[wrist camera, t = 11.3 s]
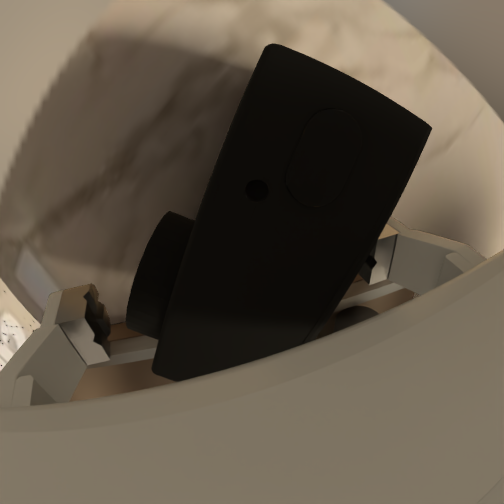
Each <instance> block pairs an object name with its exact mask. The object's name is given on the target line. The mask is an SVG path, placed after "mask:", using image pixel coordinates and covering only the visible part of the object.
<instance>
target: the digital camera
mask: <svg viewBox="0 0 504 504" xmlns="http://www.w3.org/2000/svg"><path fill="white" fill-rule="evenodd" d="M431 130H432V127H431V126H430V125H429V124H427V123H426V122H425V121H423V120H422V119H420V118H419V117H417V116H416V115H414V114H413V113H411V112H410V111H408V110H407V109H405V108H404V107H402V106H400V105H399V104H397V103H396V102H394V101H392V100H391V99H389V98H388V97H386V96H384V95H383V94H381V93H379V92H378V91H376V90H374V89H372V88H371V87H369V86H367V85H365V84H363V83H362V82H360V81H358V80H356V79H354V78H352V77H350V76H349V75H347V74H345V73H343V72H341V71H339V70H337V69H335V68H333V67H330V66H328V65H326V64H324V63H322V62H320V61H318V60H315V59H313V58H311V57H309V56H306V55H304V54H302V53H299V52H297V51H295V50H292V49H290V48H287V47H285V46H282V45H279V44H269V45H267V46H266V47H265V48H264V50H263V52H262V55H261V57H260V59H259V61H258V63H257V66H256V68H255V70H254V72H253V75H252V77H251V79H250V81H249V84H248V86H247V88H246V91H245V93H244V95H243V98H242V100H241V102H240V105H239V107H238V109H237V112H236V114H235V117H234V119H233V122H232V124H231V127H230V129H229V132H228V134H227V137H226V139H225V142H224V144H223V147H222V149H221V152H220V154H219V157H218V160H217V162H216V165H215V168H214V170H213V173H212V176H211V178H210V181H209V184H208V186H207V189H206V192H205V195H204V198H203V200H202V203H201V206H200V209H199V212H198V215H197V217H196V220H195V221H194V220H192V219H189V218H186V217H184V216H181V215H179V214H176V213H174V212H171V211H169V212H167V213H166V214H165V215H164V216H163V218H162V219H161V221H160V222H159V224H158V225H157V227H156V229H155V231H154V233H153V235H152V236H151V238H150V240H149V242H148V244H147V247H146V249H145V252H144V254H143V256H142V259H141V261H140V264H139V266H138V269H137V272H136V275H135V278H134V282H133V285H132V288H131V293H130V297H129V301H128V306H127V313H126V326H127V328H128V329H130V330H133V331H135V332H138V333H140V334H143V335H146V336H148V337H151V338H154V339H157V340H158V344H157V348H156V352H155V355H154V359H153V363H152V367H151V369H152V372H153V373H154V374H156V375H158V376H161V377H164V378H167V379H169V380H172V381H175V382H179V381H183V380H187V379H191V378H195V377H199V376H203V375H207V374H210V373H214V372H218V371H221V370H225V369H228V368H232V367H235V366H239V365H242V364H245V363H249V362H252V361H255V360H258V359H261V358H265V357H268V356H271V355H274V354H277V353H280V352H283V351H286V350H289V349H291V348H294V347H297V346H300V345H303V344H306V343H308V342H311V341H314V340H315V339H316V337H317V336H318V334H319V333H320V331H321V330H322V329H323V327H324V326H325V324H326V323H327V321H328V320H329V318H330V317H331V315H332V314H333V312H334V311H335V309H336V308H337V306H338V305H339V303H340V301H341V300H342V298H343V297H344V295H345V294H346V292H347V290H348V289H349V287H350V286H351V284H352V282H353V281H354V279H355V278H356V276H357V274H358V273H359V271H360V269H361V268H362V266H363V264H364V263H365V261H366V259H367V258H368V256H369V254H370V252H371V251H372V249H373V247H374V245H375V244H376V242H377V240H378V238H379V237H380V235H381V233H382V231H383V229H384V227H385V226H386V224H387V222H388V220H389V218H390V216H391V214H392V212H393V211H394V209H395V207H396V205H397V203H398V201H399V199H400V197H401V195H402V193H403V191H404V189H405V187H406V185H407V183H408V181H409V179H410V177H411V175H412V172H413V170H414V168H415V166H416V164H417V162H418V160H419V157H420V155H421V153H422V151H423V148H424V146H425V144H426V142H427V139H428V137H429V135H430V132H431Z"/></svg>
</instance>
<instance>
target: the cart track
mask: <svg viewBox="0 0 504 504" xmlns="http://www.w3.org/2000/svg"><path fill="white" fill-rule="evenodd" d="M414 293H415V292H413V291H411V290H409V289H407V288H404V287H402V286H400V285H398V284H396V283H394V282H392V281H390V280H388V279H386V280H383V281H380V282H377V283H374V284H371V285H369V284H368V283H367V282H366V281H365V280H364V279H363V278H362V277H361V276H360V275H359V273H358V274H357V276H356V278H355V279H354V281H353V282H352V284H351V286H350V287H349V289H348V290H347V292H346V294H345V295H344V297H343V298H342V300H341V301H340V303H339V305H338V306H337V308H336V309H335V311H334V312H333V314H332V315H331V317H330V318H329V320H328V321H327V323H326V324H325V326H324V327H323V329H322V330H321V331H320V333H319V334H318V336H317V337H316V339H319V338H322V337H324V336H327V335H330V334H332V333H333V332H334V326H335V319H336V316H337V315H338V313H339V312H340V311H341V310H343V309H346V308H349V307H352V306H365V307H369V308H371V309H373V310H375V311H376V312H377V313H378V314H381V313H383V312H385V311H388V310H390V309H392V308H394V307H397V306H399V305H401V304H403V303H405V302H407V301H409V300H412V299H413V296H414ZM316 339H315V340H316ZM108 340H109V342H110V344H111V351H110V360H108V361H104V362H100V363H95V364H91V365H86V366H87V368H86V370H85V372H84V374H83V376H82V377H81V379H80V381H79V383H78V385H77V387H76V389H75V391H74V393H73V395H72V397H71V399H70V401H69V402H71V401H79V400H86V399H93V398H99V397H105V396H111V395H117V394H122V393H128V392H133V391H138V390H143V389H148V388H153V387H157V386H162V385H166V384H171V383H175V381H172V380H169V379H167V378H164V377H161V376H158V375H156V374H154V373H153V372H152V369H151V367H152V363H153V359H154V355H155V352H156V348H157V344H158V340H157V339H154V338H151V337H148V336H146V335H143V334H140V333H138V332H135V331H133V330H130V329H128V328H127V326H126V322H124V323H119V324H114V325H111V334H110V335H109V336H108Z"/></svg>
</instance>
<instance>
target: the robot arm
mask: <svg viewBox="0 0 504 504" xmlns="http://www.w3.org/2000/svg"><path fill="white" fill-rule="evenodd" d="M359 275H360V276H361V277H362V278H363V279H364V280H365V281H366V282H367V283H368V284H369V285H371V284H374V283H377V282H380V281H383V280H386V279H388V280H390V281H392V282H394V283H396V284H398V285H400V286H402V287H404V288H407V289H409V290H411V291H413V292H415V293H417V294H419V295H420V296H418V297H416V298H414V299H412V300H409V301H407V302H405V303H403V304H401V305H399V306H397V307H394V308H392V309H390V310H388V311H385V312H383V313H381V314H379V315H376V316H374V317H372V318H369V319H367V320H365V321H362V322H360V323H357V324H355V325H352V326H350V327H347V328H345V329H342V330H340V331H337V332H335V333H332V334H330V335H327V336H324V337H322V338H319V339H316V340H314V341H311V342H308V343H306V344H303V345H300V346H297V347H294V348H291V349H289V350H286V351H283V352H280V353H277V354H274V355H271V356H268V357H265V358H261V359H258V360H255V361H252V362H249V363H245V364H242V365H239V366H235V367H232V368H228V369H225V370H221V371H218V372H214V373H210V374H207V375H203V376H199V377H195V378H191V379H187V380H183V381H179V382H175V383H171V384H166V385H162V386H157V387H153V388H148V389H143V390H138V391H133V392H128V393H122V394H117V395H111V396H105V397H99V398H93V399H86V400H79V401H71V402H69V401H70V399H71V397H72V395H73V393H74V391H75V389H76V387H77V385H78V383H79V381H80V379H81V377H82V376H83V374H84V372H85V370H86V368H87V366H86V365H91V364H95V363H100V362H104V361H108V360H110V351H111V344H110V342H109V340H108V336H109V335H110V334H111V324H110V318H109V315H108V312H107V310H106V308H105V306H104V304H102V303H101V302H99V301H98V297H99V293H98V291H97V289H96V287H95V285H93V284H92V283H91V284H87V285H82V286H78V287H74V288H70V289H65V290H61V291H57V292H54V293H52V294H50V295H49V299H48V302H47V305H46V308H45V312H44V315H43V319H42V323H41V326H40V328H38V329H36V330H35V331H34V332H33V333H32V334H31V336H30V337H29V338H28V339H27V340H26V341H25V342H24V344H23V345H22V346H21V347H20V348H19V350H18V351H17V352H16V353H15V354H14V356H13V357H12V358H11V359H10V360H9V362H8V363H7V364H6V365H5V367H4V368H3V369H2V370H1V372H0V504H504V250H502V251H500V252H499V253H497V254H495V255H494V256H492V257H490V258H489V259H486V258H485V257H484V256H482V255H481V254H480V253H478V252H477V251H476V250H474V249H473V248H472V247H470V246H469V245H467V244H464V243H461V242H457V241H454V240H451V239H447V238H444V237H440V236H437V235H433V234H429V233H426V232H422V231H418V230H415V229H413V230H410V229H409V228H407V227H406V226H404V225H403V224H402V223H400V222H399V221H397V220H396V219H394V218H393V217H391V216H390V218H389V220H388V222H387V224H386V226H385V227H384V229H383V231H382V233H381V235H380V237H379V238H378V240H377V242H376V244H375V245H374V247H373V249H372V251H371V252H370V254H369V256H368V258H367V259H366V261H365V263H364V264H363V266H362V268H361V269H360V271H359Z"/></svg>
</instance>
